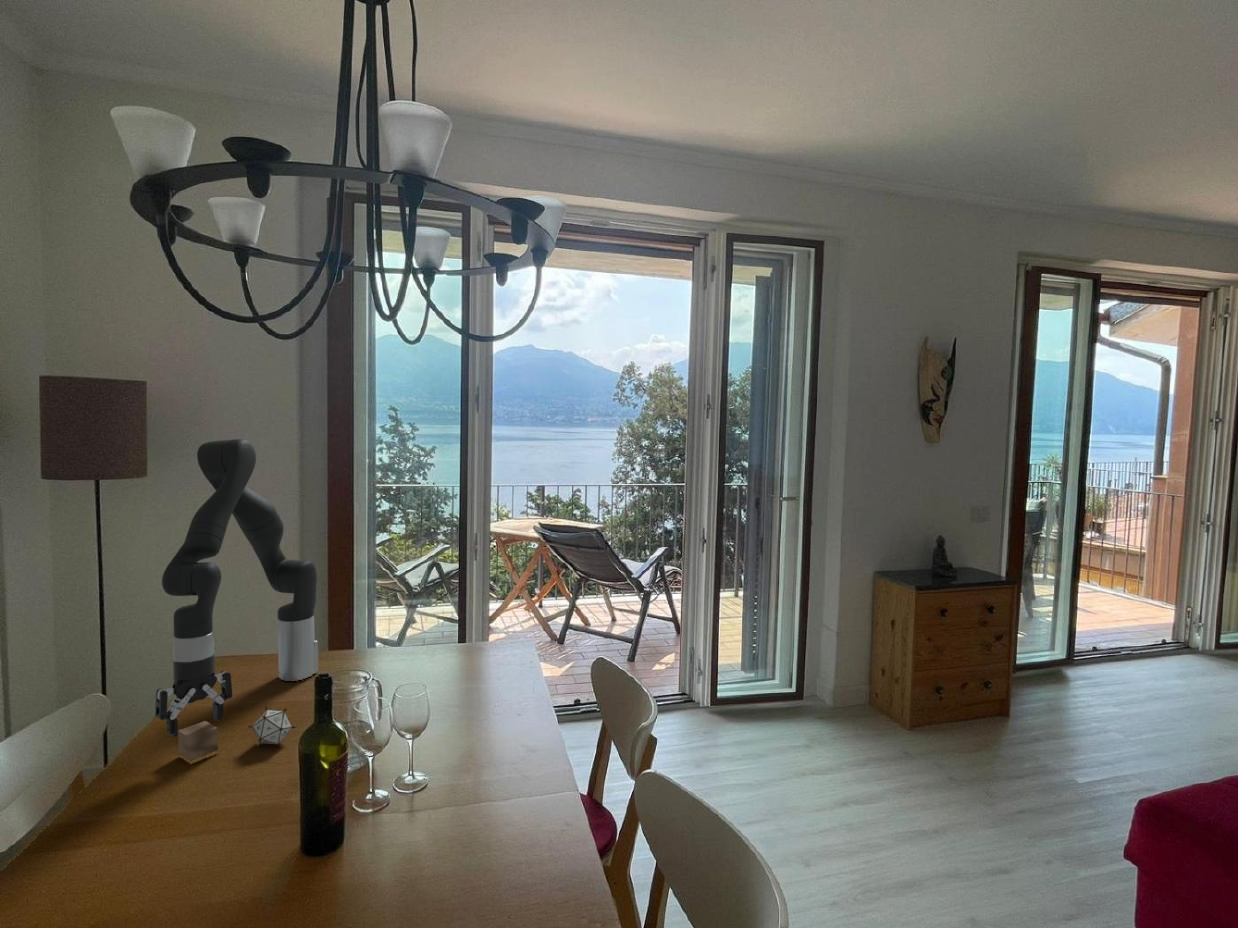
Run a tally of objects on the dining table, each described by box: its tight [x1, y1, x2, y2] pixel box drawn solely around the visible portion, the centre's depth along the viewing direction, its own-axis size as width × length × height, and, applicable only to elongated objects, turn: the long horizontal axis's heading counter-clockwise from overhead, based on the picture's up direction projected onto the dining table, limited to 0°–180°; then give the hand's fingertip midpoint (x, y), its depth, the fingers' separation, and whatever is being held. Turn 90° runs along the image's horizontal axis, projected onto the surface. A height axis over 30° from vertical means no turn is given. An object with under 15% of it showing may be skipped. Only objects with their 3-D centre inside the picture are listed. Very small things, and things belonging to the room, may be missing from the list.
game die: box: [247, 706, 297, 746], centre depth 148 cm, size 9×8×10 cm
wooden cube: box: [177, 720, 219, 761], centre depth 143 cm, size 6×6×6 cm
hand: (195, 727), depth 142 cm, fingers open, 8 cm apart
